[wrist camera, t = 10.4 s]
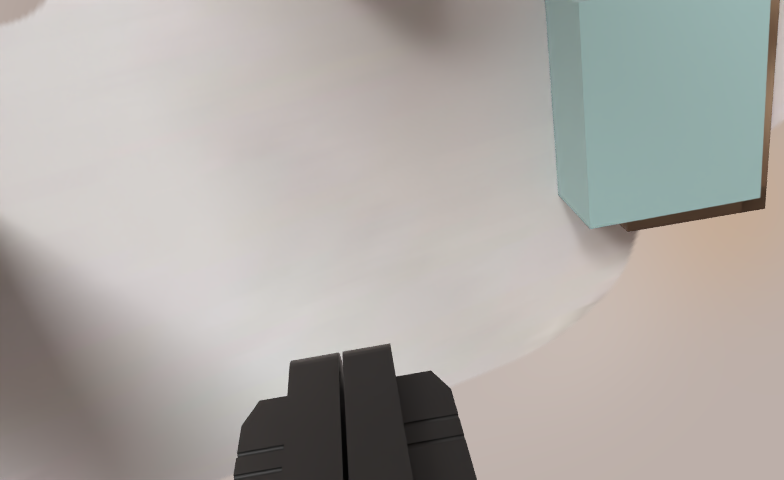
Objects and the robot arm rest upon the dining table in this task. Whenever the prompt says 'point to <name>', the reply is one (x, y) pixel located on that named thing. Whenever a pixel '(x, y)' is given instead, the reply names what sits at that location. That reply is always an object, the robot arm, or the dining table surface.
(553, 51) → the teal carton
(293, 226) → the dining table surface
